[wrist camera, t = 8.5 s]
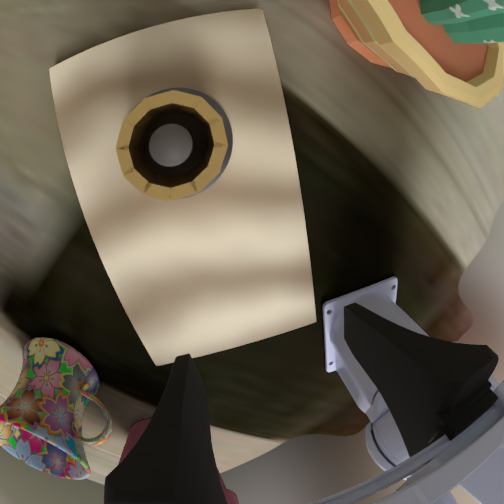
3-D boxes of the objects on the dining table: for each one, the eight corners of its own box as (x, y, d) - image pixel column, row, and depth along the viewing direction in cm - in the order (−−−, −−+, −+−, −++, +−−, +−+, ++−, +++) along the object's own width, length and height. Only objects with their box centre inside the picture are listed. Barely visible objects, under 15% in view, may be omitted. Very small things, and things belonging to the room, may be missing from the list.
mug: (56, 397, 23) (37, 474, 13) (8, 334, 19) (-34, 414, 9) (144, 386, 24) (141, 483, 14) (98, 313, 20) (63, 422, 10)
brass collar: (226, 172, 17) (236, 183, 13) (146, 194, 16) (134, 212, 12) (208, 93, 14) (213, 80, 11) (125, 116, 14) (106, 111, 10)
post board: (311, 313, 24) (336, 352, 19) (157, 356, 23) (154, 402, 18) (258, 14, 14) (281, -19, 9) (56, 71, 12) (18, 57, 8)
